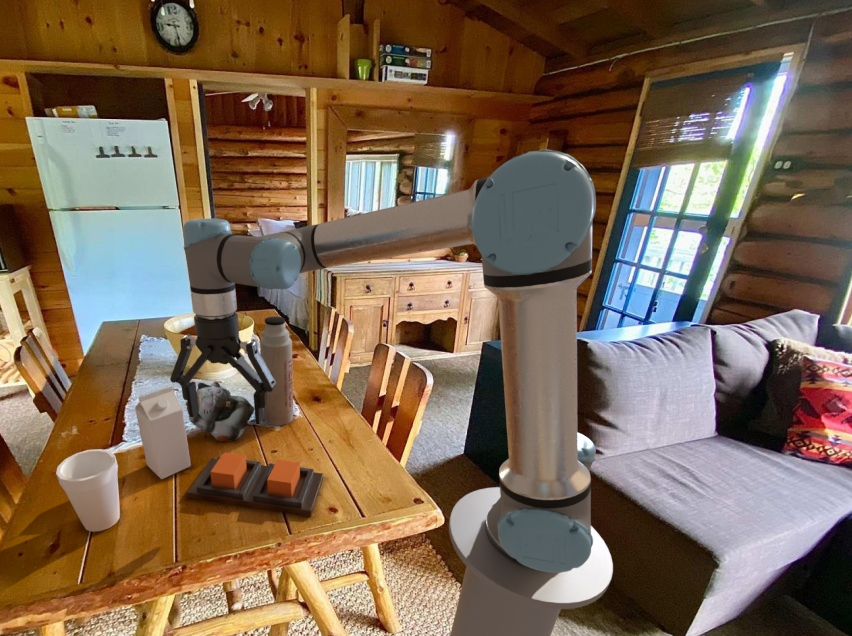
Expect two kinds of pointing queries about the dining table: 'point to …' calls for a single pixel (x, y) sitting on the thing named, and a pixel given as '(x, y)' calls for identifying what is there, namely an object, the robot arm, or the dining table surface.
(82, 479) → the foam cup
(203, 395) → the lucky cat figurine
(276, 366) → the thermos bottle
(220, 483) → the pad
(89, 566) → the dining table surface
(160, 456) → the milk carton
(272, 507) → the dark grey divided tray
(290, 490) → the pad
